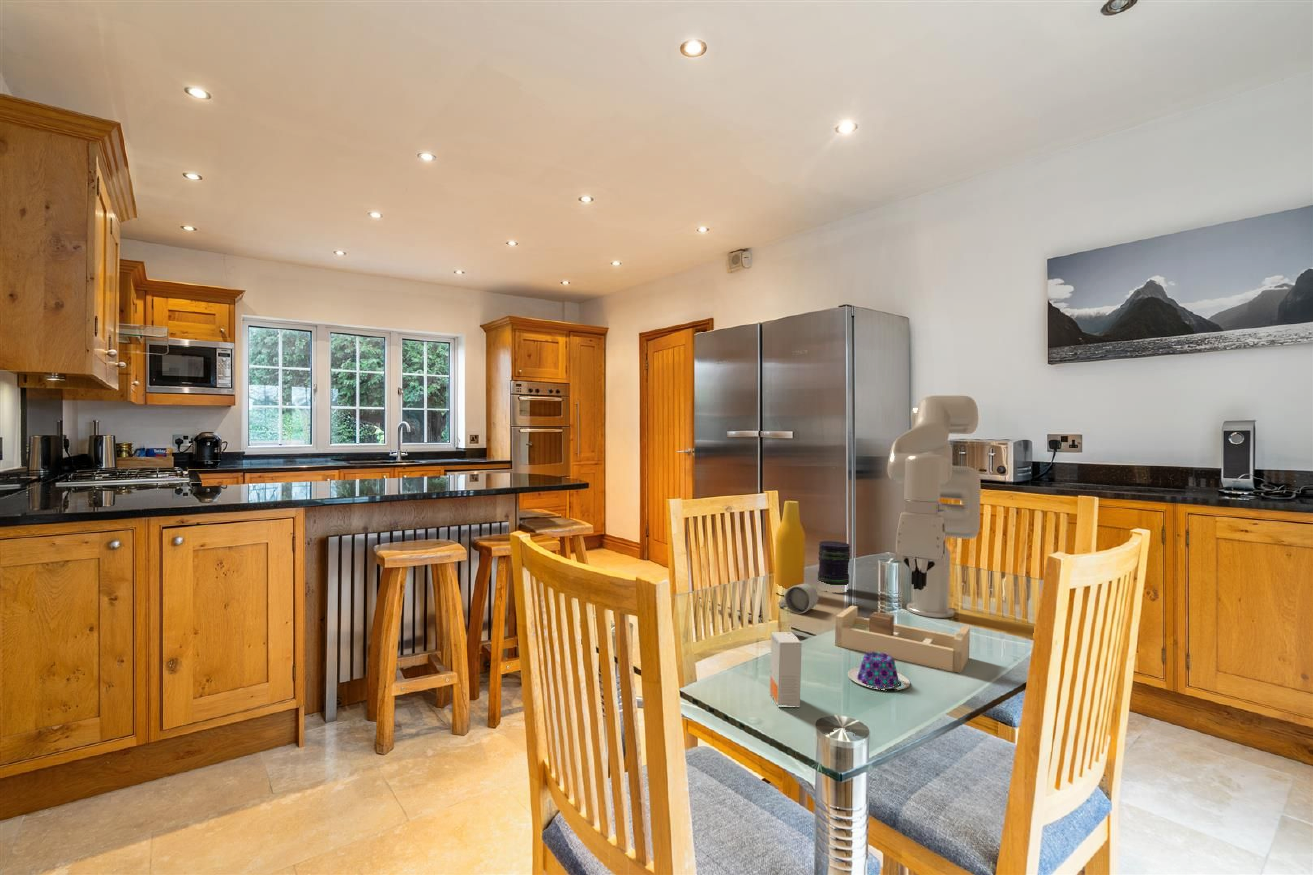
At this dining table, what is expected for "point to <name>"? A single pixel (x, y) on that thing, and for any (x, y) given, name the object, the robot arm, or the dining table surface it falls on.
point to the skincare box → (785, 668)
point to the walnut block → (881, 623)
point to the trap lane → (904, 642)
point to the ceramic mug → (800, 598)
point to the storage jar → (833, 562)
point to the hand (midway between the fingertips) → (918, 588)
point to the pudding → (877, 671)
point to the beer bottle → (790, 548)
